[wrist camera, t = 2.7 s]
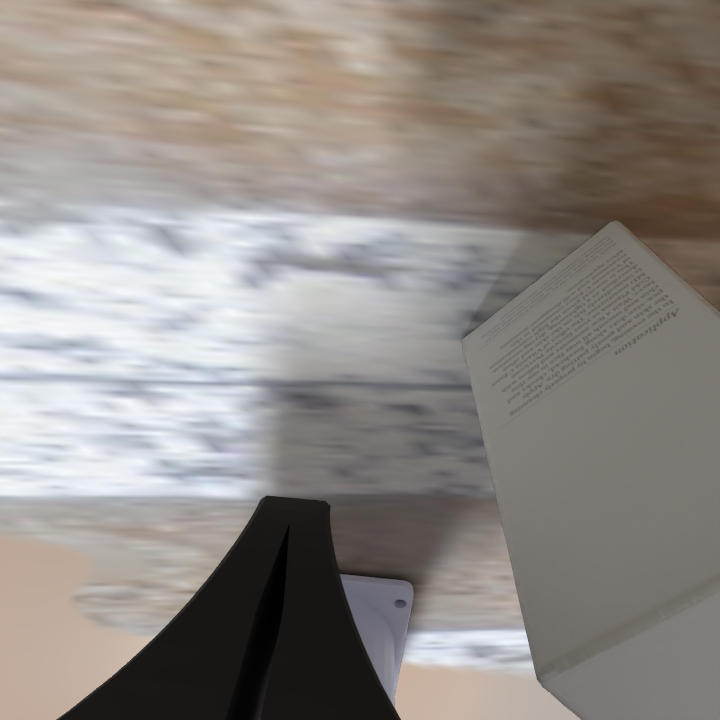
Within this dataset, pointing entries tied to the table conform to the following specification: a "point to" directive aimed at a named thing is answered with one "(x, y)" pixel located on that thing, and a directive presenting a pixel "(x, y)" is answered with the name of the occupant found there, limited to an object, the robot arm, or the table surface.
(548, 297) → the small box
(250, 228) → the table surface
